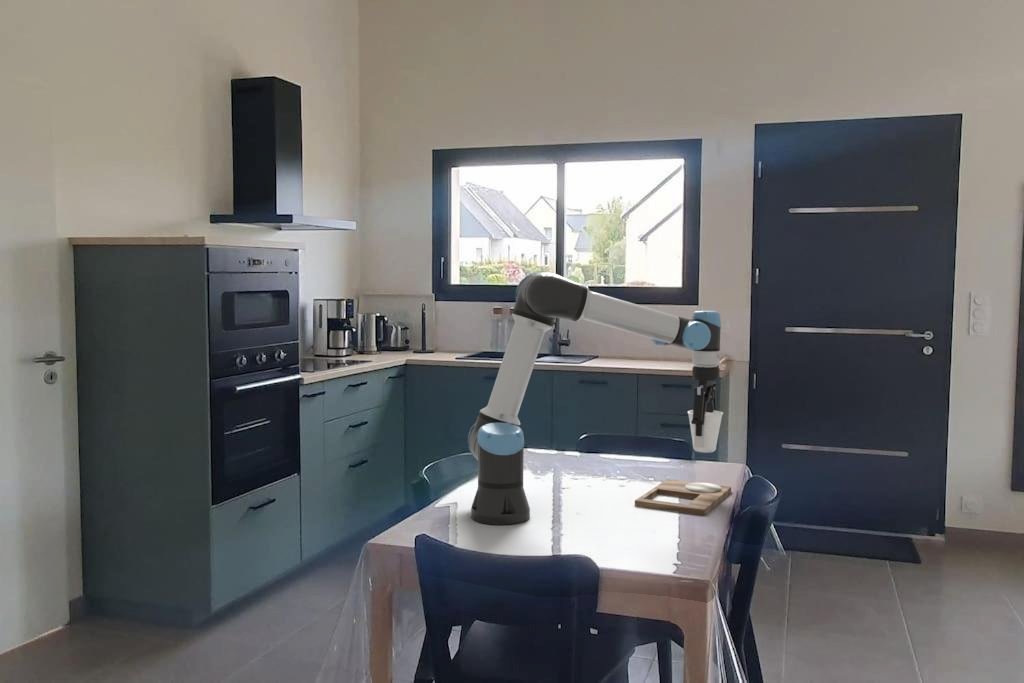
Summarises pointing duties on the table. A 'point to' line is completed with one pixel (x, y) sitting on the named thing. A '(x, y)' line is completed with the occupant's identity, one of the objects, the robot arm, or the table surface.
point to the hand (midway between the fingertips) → (704, 444)
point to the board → (685, 496)
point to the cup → (707, 430)
